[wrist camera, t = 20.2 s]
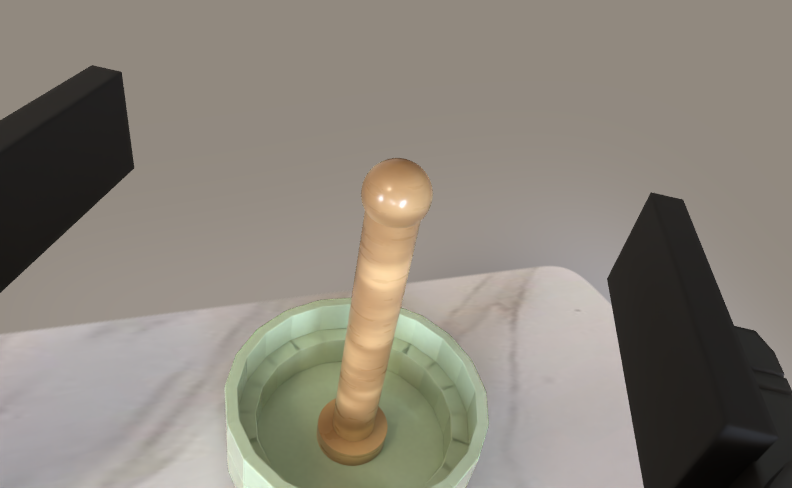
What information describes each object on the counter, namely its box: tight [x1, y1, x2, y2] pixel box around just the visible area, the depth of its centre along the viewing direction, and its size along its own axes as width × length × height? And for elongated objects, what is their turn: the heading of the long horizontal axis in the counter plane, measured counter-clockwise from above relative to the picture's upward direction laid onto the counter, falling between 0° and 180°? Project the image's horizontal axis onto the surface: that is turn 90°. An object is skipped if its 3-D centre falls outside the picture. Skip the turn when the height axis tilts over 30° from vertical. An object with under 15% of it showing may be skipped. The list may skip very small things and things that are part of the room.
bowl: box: [225, 298, 489, 488], centre depth 37 cm, size 15×15×6 cm
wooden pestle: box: [317, 158, 433, 466], centre depth 32 cm, size 4×4×20 cm
